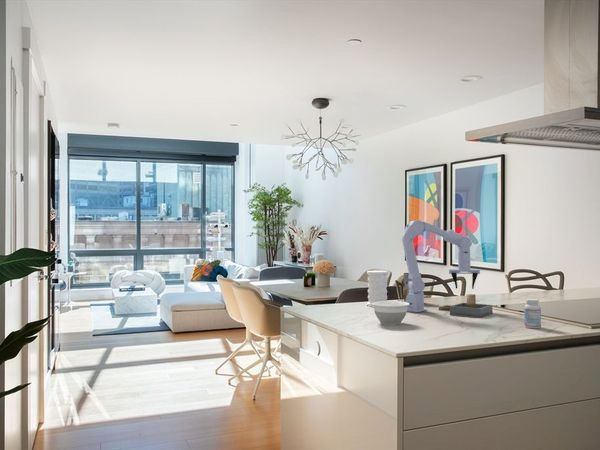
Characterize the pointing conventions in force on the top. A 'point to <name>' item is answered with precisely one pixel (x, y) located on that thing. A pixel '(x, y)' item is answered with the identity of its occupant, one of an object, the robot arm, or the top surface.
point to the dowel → (471, 300)
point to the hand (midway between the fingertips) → (464, 288)
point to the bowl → (390, 311)
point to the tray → (471, 310)
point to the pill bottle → (532, 314)
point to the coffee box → (406, 285)
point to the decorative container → (377, 286)
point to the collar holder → (445, 307)
